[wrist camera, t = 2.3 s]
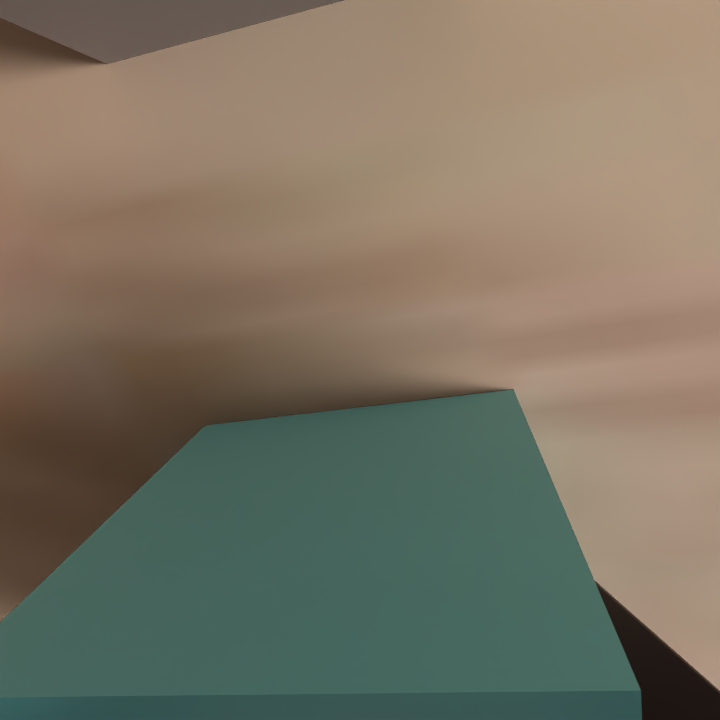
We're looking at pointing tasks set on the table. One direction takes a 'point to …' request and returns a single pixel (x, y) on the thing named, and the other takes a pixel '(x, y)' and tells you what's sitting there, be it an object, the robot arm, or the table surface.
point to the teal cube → (329, 582)
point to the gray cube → (141, 21)
